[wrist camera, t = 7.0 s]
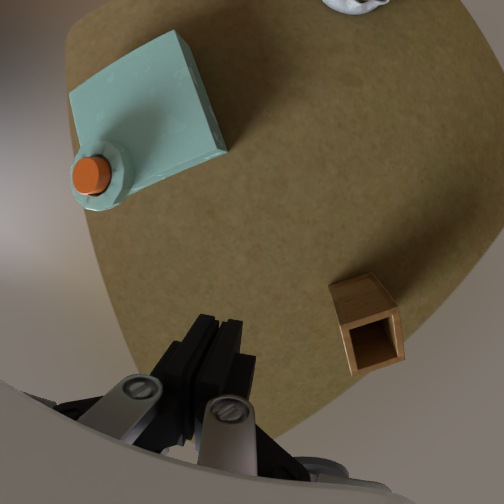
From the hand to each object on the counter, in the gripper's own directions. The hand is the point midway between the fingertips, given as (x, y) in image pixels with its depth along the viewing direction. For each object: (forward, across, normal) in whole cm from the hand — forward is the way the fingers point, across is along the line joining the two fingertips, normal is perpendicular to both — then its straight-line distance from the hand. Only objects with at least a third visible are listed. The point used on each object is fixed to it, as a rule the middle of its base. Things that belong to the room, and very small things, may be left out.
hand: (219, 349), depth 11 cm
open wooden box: (+17, -10, +4) cm, 20 cm away
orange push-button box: (+17, +12, -11) cm, 23 cm away
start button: (+11, +14, -6) cm, 19 cm away
